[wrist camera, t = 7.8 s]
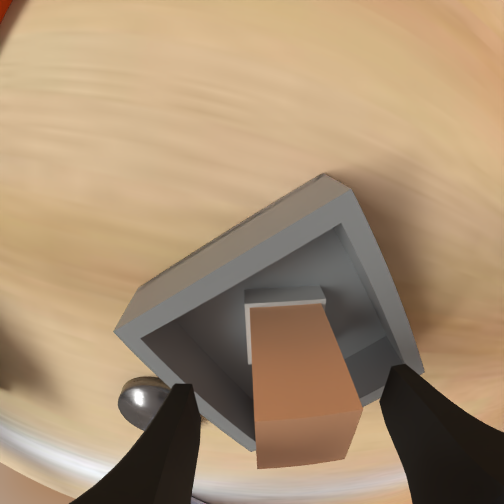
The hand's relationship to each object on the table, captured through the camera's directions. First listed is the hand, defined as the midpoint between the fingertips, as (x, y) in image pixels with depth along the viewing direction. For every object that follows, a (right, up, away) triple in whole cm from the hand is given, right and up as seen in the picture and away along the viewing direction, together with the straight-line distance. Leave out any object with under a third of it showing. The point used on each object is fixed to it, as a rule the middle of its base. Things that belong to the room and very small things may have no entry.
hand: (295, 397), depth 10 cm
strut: (0, +2, +4) cm, 5 cm away
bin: (0, +2, +5) cm, 5 cm away
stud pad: (-8, -4, +7) cm, 11 cm away
